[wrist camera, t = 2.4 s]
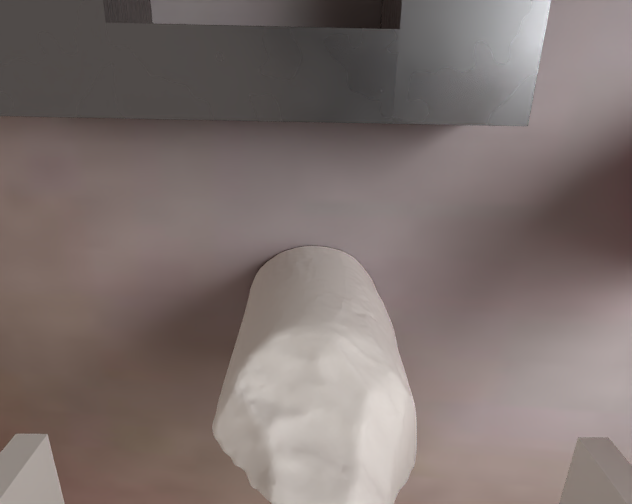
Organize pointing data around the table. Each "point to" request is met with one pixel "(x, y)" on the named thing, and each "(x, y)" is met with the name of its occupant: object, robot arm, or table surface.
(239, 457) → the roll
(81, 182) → the table surface
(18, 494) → the robot arm
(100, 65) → the hole plate
